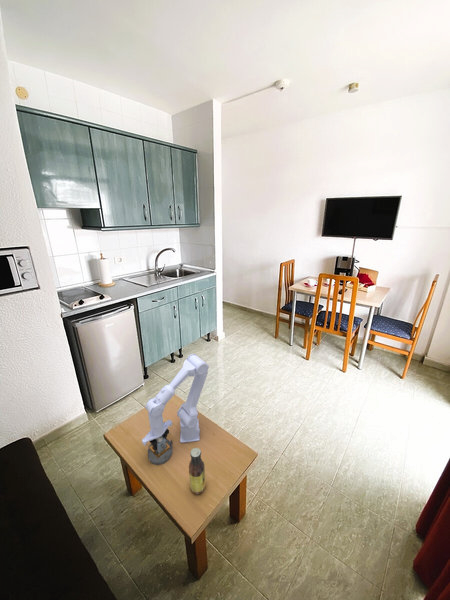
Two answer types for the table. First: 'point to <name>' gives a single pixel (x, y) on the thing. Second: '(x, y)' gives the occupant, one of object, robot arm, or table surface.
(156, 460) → the grey disc square socket
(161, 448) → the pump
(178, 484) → the table surface
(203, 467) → the sauce bottle
